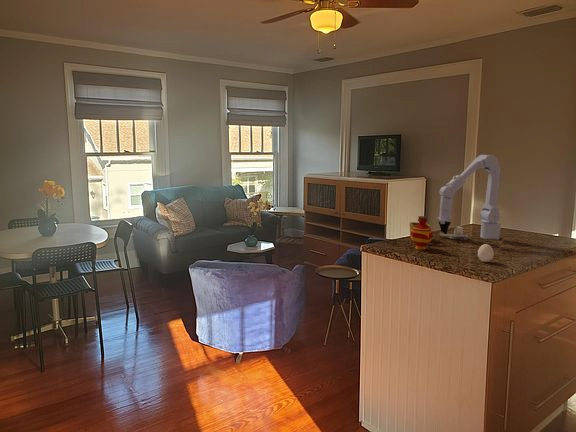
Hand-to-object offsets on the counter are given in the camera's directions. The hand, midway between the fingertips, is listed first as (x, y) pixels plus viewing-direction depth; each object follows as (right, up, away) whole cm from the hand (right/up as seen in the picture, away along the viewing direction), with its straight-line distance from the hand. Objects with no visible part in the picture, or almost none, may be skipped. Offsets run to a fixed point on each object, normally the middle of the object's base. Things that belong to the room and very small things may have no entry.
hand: (443, 235), depth 232 cm
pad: (+4, -1, +6) cm, 8 cm away
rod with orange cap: (+4, 0, -3) cm, 5 cm away
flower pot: (-15, -3, -6) cm, 16 cm away
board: (+5, -2, -1) cm, 5 cm away
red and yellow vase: (-18, -5, -21) cm, 28 cm away
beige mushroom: (+8, -1, 0) cm, 8 cm away
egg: (+2, -9, -44) cm, 45 cm away
